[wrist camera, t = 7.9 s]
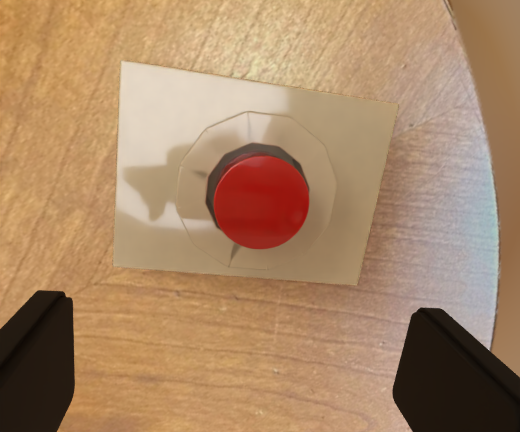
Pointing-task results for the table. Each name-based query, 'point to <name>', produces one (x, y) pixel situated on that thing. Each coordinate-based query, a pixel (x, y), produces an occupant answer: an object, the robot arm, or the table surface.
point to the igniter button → (260, 200)
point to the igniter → (226, 148)
